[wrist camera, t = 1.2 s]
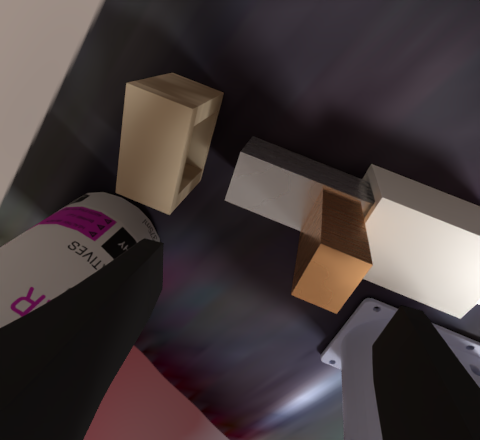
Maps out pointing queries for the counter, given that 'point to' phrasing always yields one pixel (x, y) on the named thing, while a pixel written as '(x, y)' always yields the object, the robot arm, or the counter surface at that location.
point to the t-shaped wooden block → (309, 217)
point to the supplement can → (67, 250)
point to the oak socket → (165, 139)
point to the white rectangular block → (423, 243)
